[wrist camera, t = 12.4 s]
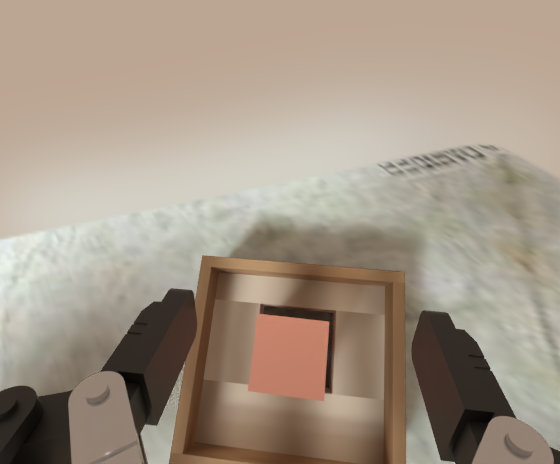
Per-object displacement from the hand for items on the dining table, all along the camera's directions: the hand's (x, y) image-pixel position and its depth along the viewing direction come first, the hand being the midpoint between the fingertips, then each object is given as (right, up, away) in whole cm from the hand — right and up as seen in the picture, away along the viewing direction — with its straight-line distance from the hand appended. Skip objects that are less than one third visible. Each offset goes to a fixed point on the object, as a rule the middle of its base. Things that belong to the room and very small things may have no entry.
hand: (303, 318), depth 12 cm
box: (0, -8, +16) cm, 18 cm away
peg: (0, -7, +17) cm, 18 cm away
